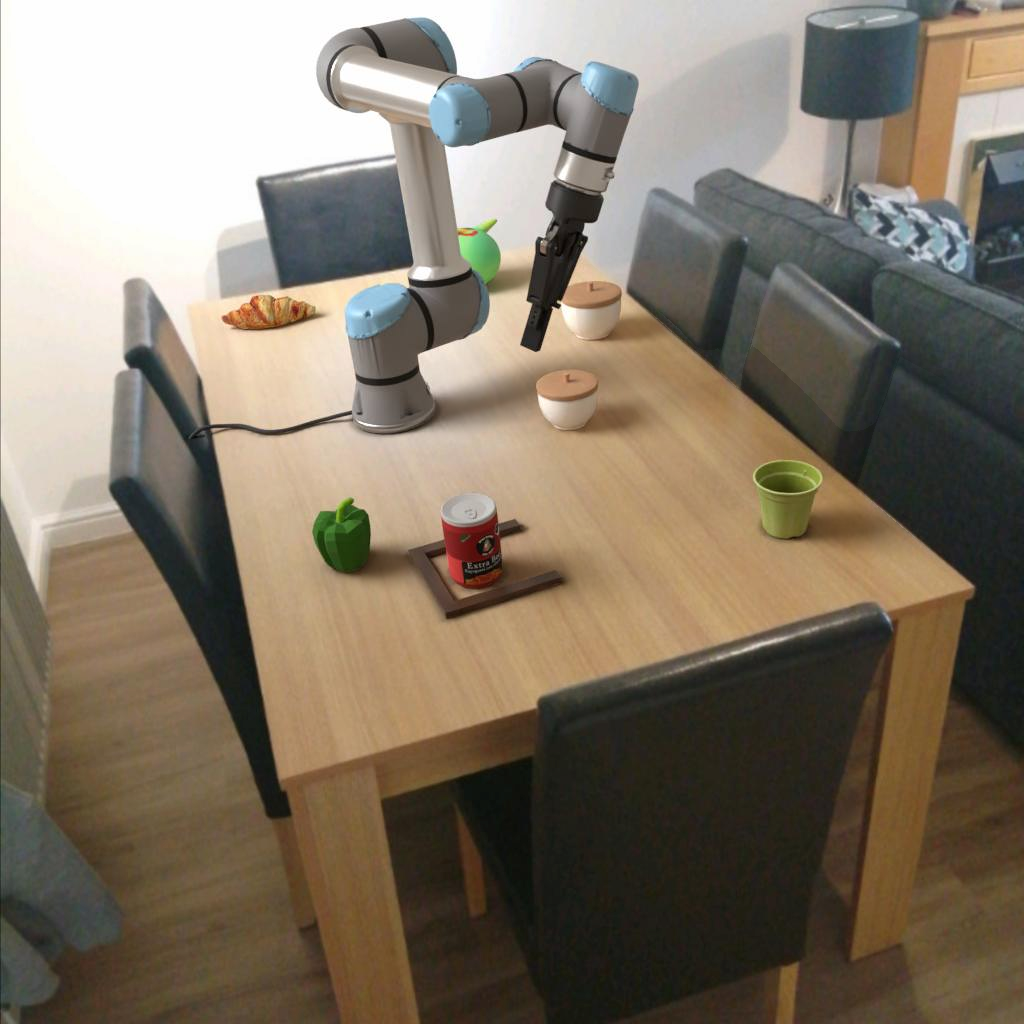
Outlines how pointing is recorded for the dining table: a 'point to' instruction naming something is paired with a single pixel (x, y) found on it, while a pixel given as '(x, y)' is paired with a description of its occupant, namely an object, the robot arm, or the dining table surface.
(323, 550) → the bell pepper
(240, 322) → the croissant
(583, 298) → the lidded bowl
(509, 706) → the dining table surface
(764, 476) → the plant pot
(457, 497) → the canned food
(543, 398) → the trinket box
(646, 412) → the dining table surface
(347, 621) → the dining table surface
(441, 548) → the walnut frame
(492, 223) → the toy bird
